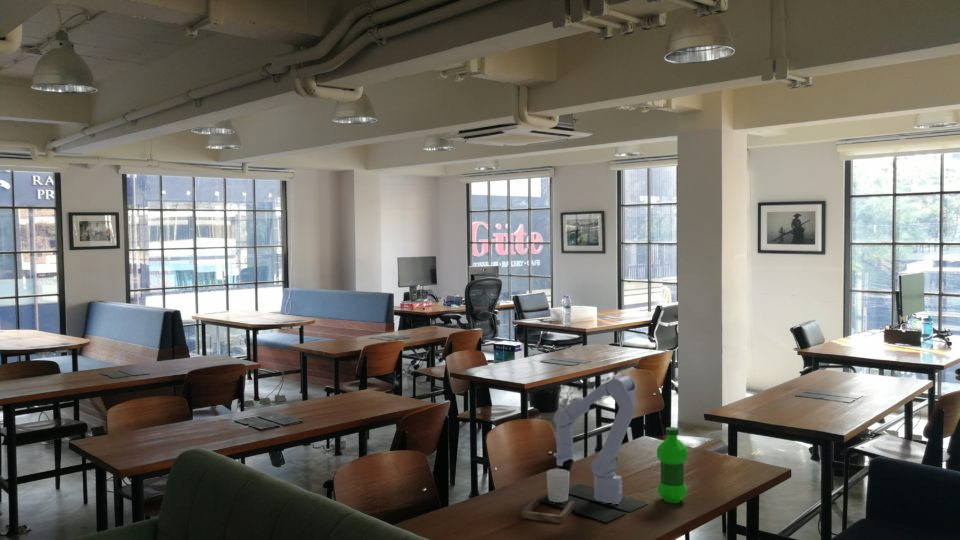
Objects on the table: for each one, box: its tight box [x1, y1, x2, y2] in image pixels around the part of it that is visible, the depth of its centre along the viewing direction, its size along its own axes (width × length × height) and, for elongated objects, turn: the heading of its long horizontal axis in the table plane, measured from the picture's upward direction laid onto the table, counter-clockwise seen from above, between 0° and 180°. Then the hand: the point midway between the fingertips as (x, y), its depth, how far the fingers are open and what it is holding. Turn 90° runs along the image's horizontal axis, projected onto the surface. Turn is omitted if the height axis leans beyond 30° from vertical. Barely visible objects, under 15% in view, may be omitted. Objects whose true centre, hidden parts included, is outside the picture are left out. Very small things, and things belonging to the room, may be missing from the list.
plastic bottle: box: [656, 426, 689, 504], centre depth 266 cm, size 10×10×25 cm
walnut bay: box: [521, 496, 576, 524], centre depth 257 cm, size 14×16×2 cm
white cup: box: [546, 468, 570, 502], centre depth 268 cm, size 8×8×10 cm
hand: (565, 480), depth 277 cm, fingers closed
